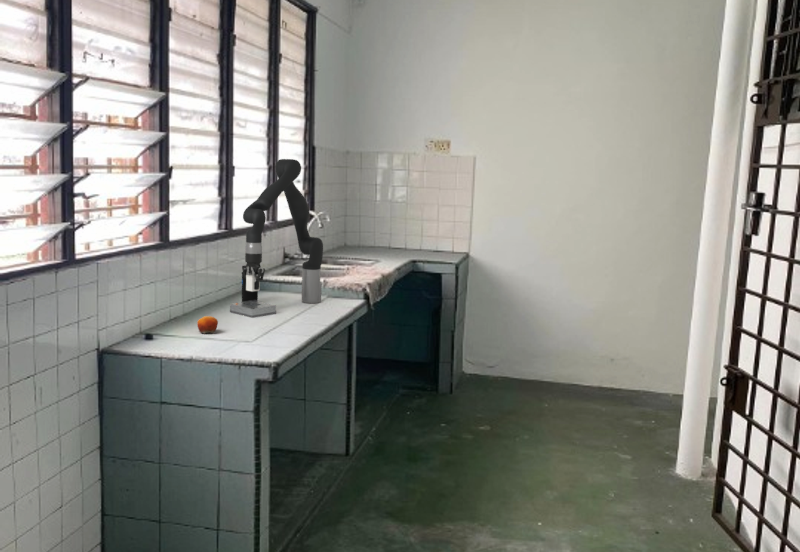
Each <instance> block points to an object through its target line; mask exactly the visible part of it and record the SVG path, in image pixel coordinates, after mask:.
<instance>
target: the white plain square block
mask: <svg viewBox="0 0 800 552" xmlns="http://www.w3.org/2000/svg"><path fill="white" fill-rule="evenodd" d="M257 277H258V276H256V278H257ZM254 282H255V281H254V276H253V275H246V290H247V291H252V292H253V291H258V292H259V291H260V290H261V289H260V288H261V281H260V282H259V289H258V290H255V289H254Z"/></svg>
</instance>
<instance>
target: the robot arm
mask: <svg viewBox="0 0 800 552" xmlns="http://www.w3.org/2000/svg"><path fill="white" fill-rule="evenodd" d="M275 172H276V176H277V179H276V181H274V182H273V183H271V184H269V185H268V186H267V187H266V188H265V189H264V190H263V191H262V192H261V193H260V194H259V196H258V198H257V199H256V200H255V201H253V202H252V203H251V204H250V205H248V206H247V207H246V208H245V209H244V212H243V214H242V215H243V216H242V220H243V221H244V222H245V223H247V224H251V225H252V226H251V227H252V228H249V229H247V230H246V234H245V248H244V249H245V250H244V252H245V253H244V261H245V263H246V264H245V265H244V264H243V265H242V266H241V269H242V272H243V276H244V278H246V275H253V276H254V281H255V282H254V289H255V290H258V289H259V282H260V283H261V281H263V280H264V276H265V272H266V269H265V268H263V267H261V263H262V262H263V245H262V244H263V243H262V236H263V231H264V227H265V224H266V220H267V219H266V218H267V217H266V213H265V212H266V211H269V210H270V209H271V208H272V206H273V204H274V203H275V202H276V200H277V199H279V196H280V195H281V194H284V196H285V199H286V202H287V205H288V206H287V207H288V209H289V213H290V216H291V218H292V222H293V225H294V229H295V234H296V237H297V238H296V239H297V242H298V246H299V247H298V248H299V250H300V252H301V254H304V255H307V256H309V258H308V260H307V261H304V262H302V271H301V272H302V273H301V274H302V275H301V303H304V304H318V303H321V302H322V287H323V286H322V284H323V283H322V282H321V268H322V267H321V266H322V264H323V255H324V244H323V243H324V242H323V240H322V239H321V238H320V237H315V236H310V233H309V230H308V222H309V219H310V213H311V212H310V207H309V205H308V202H307V200H306V197H305V196H304V195H303V193H302V192H301V191H300V190H299V189H298V187H297V186H296V184H295V183H294V181H295V180H296V179H298V177H299V176H300V174H301V172H302V165H301V163H300V161H298V160H297V159H292V158H291V159H290V158H281V159H278V160H277V162H276V164H275ZM255 274H257V275H255ZM256 276H258V277H257V278H256ZM320 301H321V302H320Z"/></svg>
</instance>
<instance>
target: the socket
mask: <svg viewBox="0 0 800 552" xmlns="http://www.w3.org/2000/svg"><path fill="white" fill-rule="evenodd" d="M276 305H277V304H273V303H272V304H271V303H267V302H262V301H259V300H250V301H245V302H242V301H240V302H233V303H229V313H232V314H236V315H240V316H243V315H244V317H248V318H252V319H253V318H258V317H265V316H270V315H276V314H277V306H276Z"/></svg>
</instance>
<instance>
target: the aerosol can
mask: <svg viewBox="0 0 800 552" xmlns="http://www.w3.org/2000/svg"><path fill="white" fill-rule="evenodd" d="M255 275H257V274H255ZM258 294H259V291H253V292H252V291H247V290H246V278H244V276H243V271H242V272H241V302H245V301H250V300H258V298H259V297H258ZM258 301H259V300H258Z"/></svg>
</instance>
